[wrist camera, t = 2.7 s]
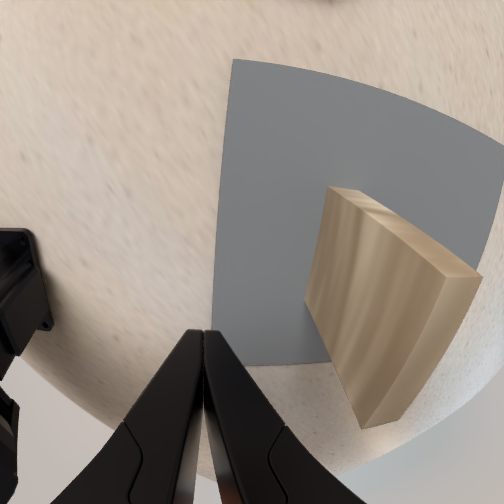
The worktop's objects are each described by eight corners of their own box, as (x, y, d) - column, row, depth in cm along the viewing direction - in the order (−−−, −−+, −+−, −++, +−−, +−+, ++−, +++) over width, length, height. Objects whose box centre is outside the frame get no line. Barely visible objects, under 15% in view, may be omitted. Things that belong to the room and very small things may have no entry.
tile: (303, 299, 15) (361, 429, 8) (327, 186, 13) (446, 277, 5) (333, 299, 15) (400, 419, 8) (360, 190, 13) (484, 276, 6)
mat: (210, 360, 17) (210, 365, 17) (232, 60, 10) (233, 58, 10) (438, 342, 20) (440, 345, 19) (505, 147, 13) (509, 149, 13)
